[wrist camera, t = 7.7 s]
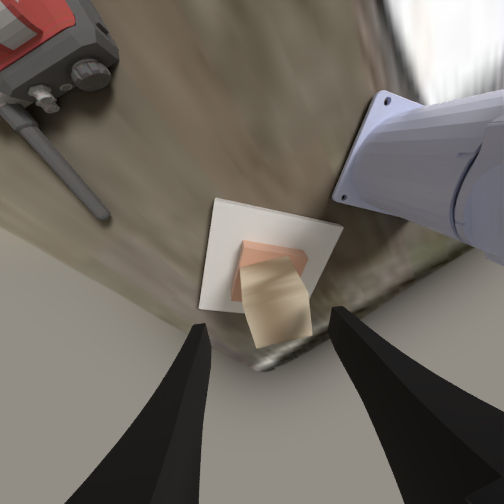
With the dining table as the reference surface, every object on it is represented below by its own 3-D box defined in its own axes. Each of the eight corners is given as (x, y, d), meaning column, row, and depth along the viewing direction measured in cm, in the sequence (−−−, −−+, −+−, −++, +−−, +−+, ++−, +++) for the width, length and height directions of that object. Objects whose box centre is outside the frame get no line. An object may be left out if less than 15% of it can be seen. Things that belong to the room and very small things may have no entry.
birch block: (287, 255, 17) (308, 292, 12) (293, 292, 19) (312, 335, 15) (239, 267, 17) (243, 308, 12) (250, 302, 19) (256, 348, 15)
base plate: (338, 223, 19) (352, 233, 16) (297, 312, 24) (303, 329, 22) (215, 197, 16) (212, 205, 14) (199, 302, 22) (196, 319, 19)
